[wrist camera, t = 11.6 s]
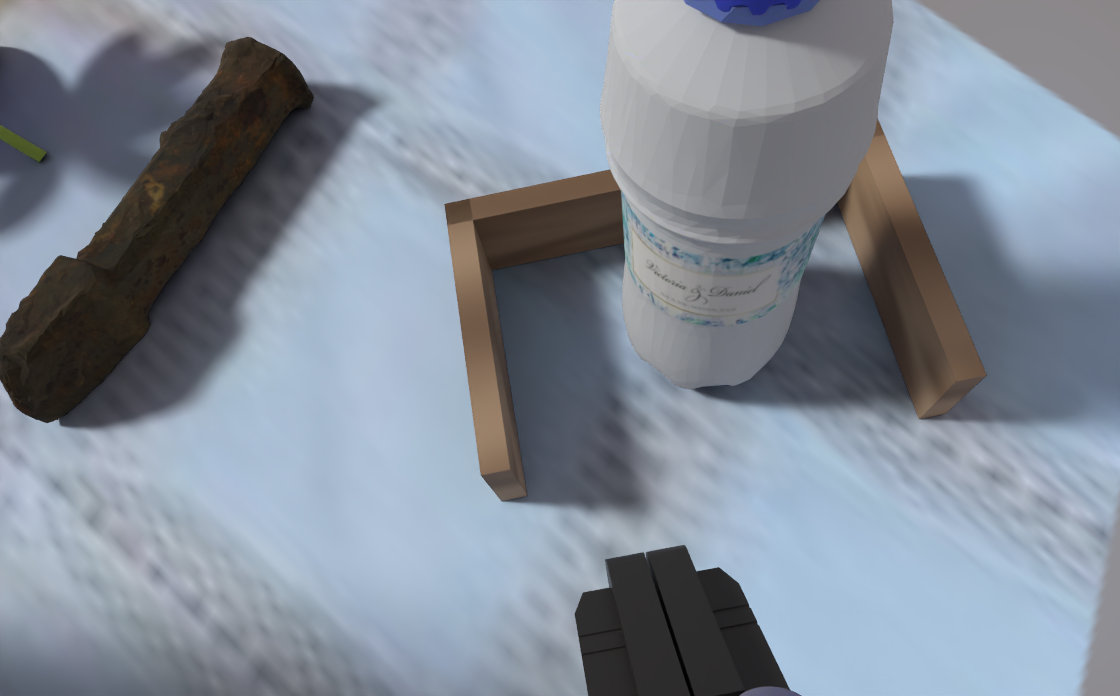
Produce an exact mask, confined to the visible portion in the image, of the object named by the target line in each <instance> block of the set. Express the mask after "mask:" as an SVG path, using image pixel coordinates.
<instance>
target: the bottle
mask: <svg viewBox="0 0 1120 696" xmlns="http://www.w3.org/2000/svg"><path fill="white" fill-rule="evenodd" d="M892 27H893V11H892V0H615V1H614V5H613V9H612V18H611V27H610V37H609V46H608V55H607V63H606V71H605V79H604V86H603V91H602V97H601V103H600V117H601V124H602V130H603V133H604V137H605V144H606V153H607V160H608V163H609V166H610V170H611V172H612V175H613V177H614V179H615V181H616V182H617V184H618V186H619V188H620V189H621V196H622V213H623V230H624V248H625V267H624V277H623V288H622V307H623V315H624V321H625V325H626V329H627V333H628V336H629V339H630V342H631V345H632V347H633V348H634V350H635V352H636V353H637V354H638V356H639V357H640V358H641V359H642V360H644V361H646V362H647V363H649V364H650V365H651V366H653V367H654V368H655V369H656V370H658V371H659V372H660V373H662V374H663V375H664V376H665V377H667V378H668V379H669V380H670V381H671V382H672V383H673V384H675V385H676V386H678V387H682V388H685V389H695V388H699V387H704V386H716V385H730V386H734V385H738V384H741V383H743V382H745V381H747V380H749V379H751V378H752V377H753V376H754V375H755V374H756V373H757V372H758V371H759V370H760V369H761V368H762V367H763V366H764V365H765V364H766V363H767V362H768V361H769V360H770V359H771V358H772V357H773V356H774V354H775V353H776V352H777V350H778V349H779V347H780V346H781V345H782V343H783V341H784V338H785V336H786V334H787V332H788V330H789V327H790V324H791V320H792V317H793V313H794V310H795V306H796V301H797V297H798V292H799V287H800V282H801V278H802V276H803V273H804V270H805V268H806V265H807V262H808V260H809V257H810V254H811V252H812V249H813V246H814V244H815V241H816V238H817V236H818V233H819V230H820V228H821V225H822V222H823V220H824V217H825V214H826V213H827V212H828V211H829V210H830V209H831V208H832V207H833V206H834V205H835V204H836V203H837V202H838V201H839V200H840V198H841V197H842V196H843V195H844V194H845V192H846V190H847V189H848V187H849V185H850V184H851V182H852V180H853V178H854V176H855V174H856V172H857V170H858V166H859V164H860V162H861V161H862V159H863V158H864V156H865V155H866V153H867V151H868V149H869V147H870V144H871V141H872V139H873V136H874V134H875V129H876V123H877V117H878V104H879V99H880V93H881V88H882V82H883V77H884V71H885V66H886V60H887V55H888V49H889V44H890V39H891V33H892Z"/></svg>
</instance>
